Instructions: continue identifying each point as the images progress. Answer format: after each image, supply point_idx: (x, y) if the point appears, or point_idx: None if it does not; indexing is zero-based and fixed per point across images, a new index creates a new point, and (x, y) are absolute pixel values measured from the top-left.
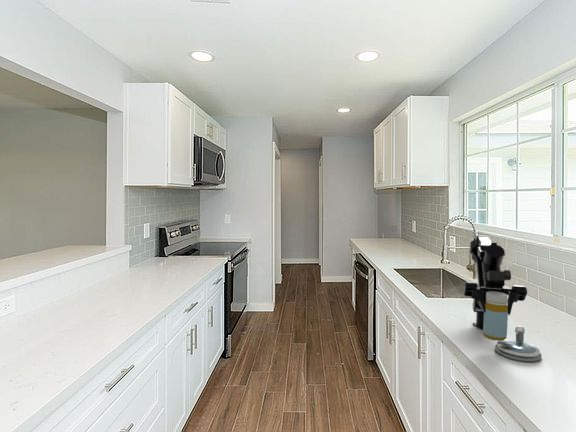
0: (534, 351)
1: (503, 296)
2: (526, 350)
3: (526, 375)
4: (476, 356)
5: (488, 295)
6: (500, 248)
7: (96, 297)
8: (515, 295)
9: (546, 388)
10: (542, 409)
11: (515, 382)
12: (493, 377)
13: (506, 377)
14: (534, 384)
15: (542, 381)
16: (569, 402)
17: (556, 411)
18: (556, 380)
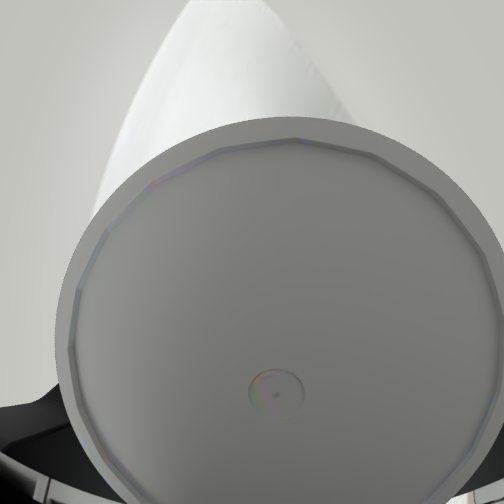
0: None
1: (135, 173)
2: None
3: (216, 121)
4: None
5: (474, 232)
6: None
7: None
8: (1, 410)
9: (185, 77)
10: (222, 7)
11: (255, 69)
12: (311, 71)
13: (276, 84)
14: (208, 81)
15: (183, 107)
16: (161, 49)
17: (199, 13)
18: (145, 133)
